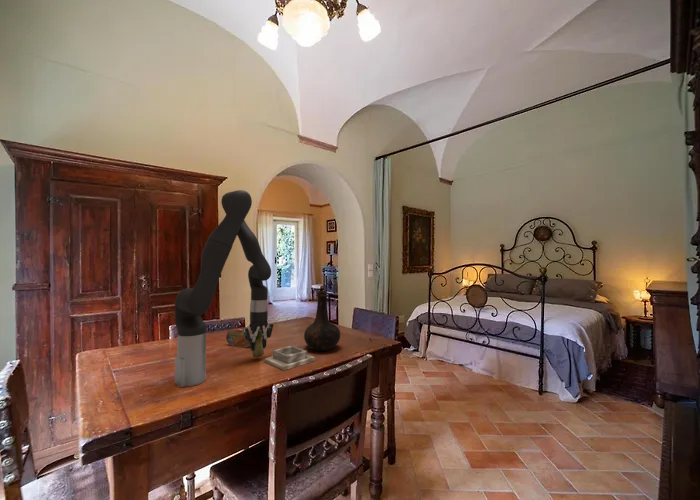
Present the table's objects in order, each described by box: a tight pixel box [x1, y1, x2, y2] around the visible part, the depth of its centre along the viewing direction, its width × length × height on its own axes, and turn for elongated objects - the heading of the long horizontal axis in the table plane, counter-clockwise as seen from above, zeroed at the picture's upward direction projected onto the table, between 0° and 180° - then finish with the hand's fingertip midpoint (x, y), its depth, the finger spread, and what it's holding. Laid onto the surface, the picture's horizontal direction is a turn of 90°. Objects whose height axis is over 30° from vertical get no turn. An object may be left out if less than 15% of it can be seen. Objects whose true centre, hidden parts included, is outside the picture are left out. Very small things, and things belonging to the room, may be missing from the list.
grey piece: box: [264, 345, 316, 371], centre depth 131 cm, size 16×14×4 cm
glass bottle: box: [303, 290, 341, 352], centre depth 150 cm, size 18×18×28 cm
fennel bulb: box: [252, 329, 265, 358], centre depth 134 cm, size 6×5×12 cm
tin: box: [225, 328, 251, 348], centre depth 153 cm, size 15×3×8 cm, turn 73°
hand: (258, 349), depth 133 cm, fingers closed on fennel bulb, 4 cm apart
